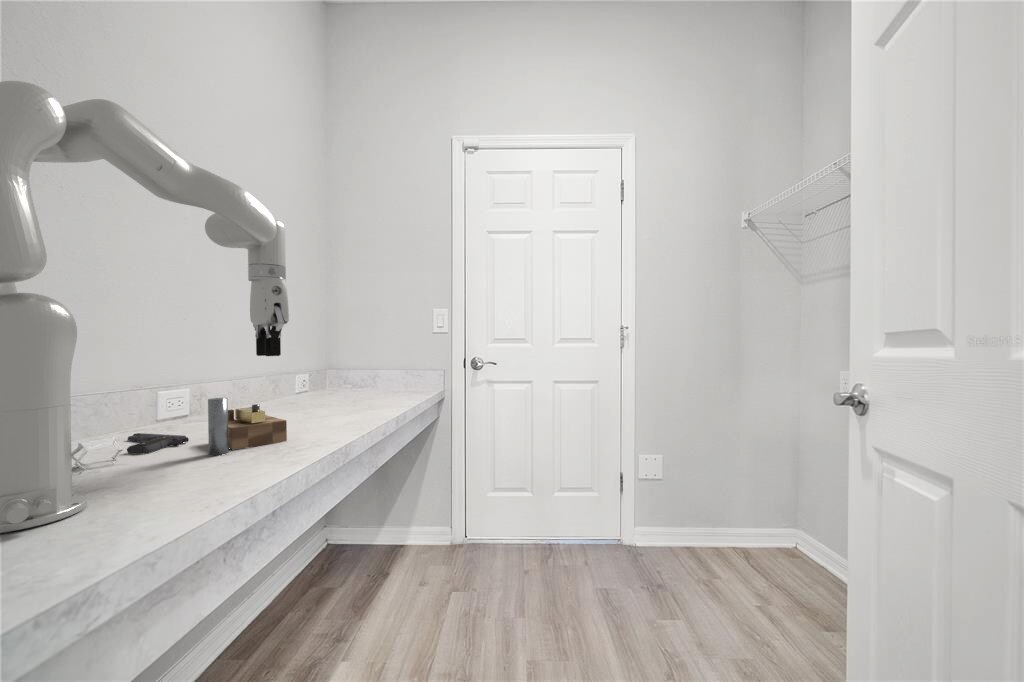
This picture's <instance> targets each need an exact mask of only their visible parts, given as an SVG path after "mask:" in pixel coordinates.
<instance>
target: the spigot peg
mask: <svg viewBox="0 0 1024 682" xmlns="http://www.w3.org/2000/svg"><path fill="white" fill-rule="evenodd" d="M228 401H229V399H228V397H215V398H214V397H213V398H208V399H207V416H208V417H207V419H208V420H207V422H208V425H207V426H208V428H207V430H208V433H207V435H208V456H209V455H220V456H223V455H222V454H225V455H227V454H226V453H228V454H229V449H228V410H229V407H228V404H229V402H228Z"/></svg>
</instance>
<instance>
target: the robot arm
mask: <svg viewBox="0 0 1024 682" xmlns="http://www.w3.org/2000/svg"><path fill="white" fill-rule="evenodd" d="M99 160H105V161H106V162H108V163H109V164H110V165H112V166H113V167H115V168H117V169H118V170H119V171H120V172H122V173H123V174H125V175H127V176H128V177H129V178H131V179H132V180H133V181H135V182H136V183H138V185H140V186H141V187H143V188H145V189H146V190H147V191H149V193H151V194H152V195H154V196H155V197H157V198H160V199H162V200H165V201H169V202H171V203H174V204H181V205H185V206H190V207H191V206H192V207H196V208H200V209H204V210H207V211H210V212H213V214H211V215H210V216H208V217H207V219H206V221H205V223H204V231H205V234H206V235H207V237H208V238H209V239H210V240H211V242H213V243H214V244H216V245H218V246H220V247H223V248H229V249H244V250H247V269H248V271H247V276H248V281H249V282H251V283H250V295H249V296H250V297H249V298H250V299H249V319H250V322H251V323H252V327H253V328H254V331H255V346H256V347H255V348H256V351H255V354H256V356H258V357H264V356H265V357H280V356H281V353H282V352H281V349H282V348H281V344H282V341H281V338H282V330H283V327H284V326H285V325H287V324H288V323H289V321H290V313H289V312H290V311H289V310H290V309H289V296H288V289H287V284H286V282H287V276H286V275H287V273H286V271H287V269H286V267H287V266H286V265H287V263H286V259H287V257H286V228H285V224H284V223H282V222H281V221H279V220H277V219H274V216H273V215H272V213H271V212H270V211H269V210H268V208H266V207H265V205H263V204H262V202H261V201H259V200H258V199H257V198H256V197H254V196H253V195H252V194H251V193H250V192H249V191H247V190H246V189H244V188H242V187H241V186H240V185H238V184H236V183H234V182H232V181H230V180H228V179H226V178H224V177H221V176H219V175H217V174H215V173H213V172H211V171H209V170H207V169H204V168H201V167H199V166H196V165H194V164H193V163H191V162H189V160H187V159H186V158H184V157H183V156H182V155H181V154H180V153H179V152H177V150H175V149H173V147H171V146H170V144H168V143H167V142H165V141H164V140H163V139H162V138H160V137H159V136H158V135H157V134H156V133H154V132H153V131H152V130H151V129H150V128H149V127H147V126H146V125H145V124H144V123H143V122H141V121H140V120H139V119H138V118H137V117H135V116H134V115H133V114H132V113H130V112H129V111H128V110H127V109H125V108H124V107H123V106H121V105H120V104H118V103H117V102H115V101H111V100H107V99H102V98H94V99H93V98H92V99H85V100H83V101H78V102H75V103H74V102H73V103H71V104H67V105H63V106H62V105H61V103H60V101H59V100H58V98H56V96H54V95H53V94H52V93H50V92H49V91H48V90H47V89H44V88H43V87H42V86H39V85H36V84H34V83H31V82H26V81H21V80H2V81H0V534H2V533H3V534H4V533H10V532H14V531H15V532H16V531H21V530H26V529H30V528H35V527H38V526H39V527H40V526H42V525H46V524H50V523H53V522H56V521H60V520H62V519H66V518H68V517H71V516H74V515H75V514H77V513H79V512H81V511H82V510H84V509H85V507H87V505H88V499H87V497H86V496H84V495H82V494H76V493H75V494H74V493H73V465H72V463H73V462H72V461H73V460H72V456H71V453H72V417H71V415H72V410H71V407H72V406H71V405H72V404H71V380H72V376H71V375H72V374H71V373H72V366H73V359H74V354H75V351H76V345H77V340H78V327H77V322H76V320H75V317H74V315H73V314H72V312H71V310H69V309H68V308H67V307H66V306H65V305H64V304H63V303H61V302H60V301H58V300H57V299H54V298H51V297H49V296H47V295H43V294H39V293H33V292H18V290H17V287H16V283H18V282H20V283H21V282H24V281H27V280H30V279H31V280H32V279H33V278H34V277H36V276H38V275H40V273H42V272H43V270H44V269H45V268H46V265H47V260H48V259H47V257H48V255H47V250H46V246H45V243H44V239H43V234H42V231H41V228H40V224H39V223H40V222H39V220H38V216H37V211H36V208H35V204H34V201H33V197H32V195H33V194H32V191H31V184H30V171H31V167H32V164H33V163H55V164H56V163H59V164H60V163H61V164H63V163H64V164H65V163H66V164H67V163H68V164H69V163H72V164H73V163H89V162H93V161H94V162H95V161H99Z"/></svg>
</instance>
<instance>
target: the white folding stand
mask: <svg viewBox="0 0 1024 682" xmlns="http://www.w3.org/2000/svg"><path fill="white" fill-rule="evenodd" d="M77 445H78V446H77V447H76V448H75V449H74V450H73V451H71V456H72V459H73V460H74V461H75V462H74V463H73V466H74V467H75V468H74V469H81V470H82V471H80V472H79V473H78V475H81V474H83V472H85V471H86V470H87V469H86V467H84V464H83V462H81V460H82V459H83V458H84V456H85V455H86V454H87V453H88V452H90V451H94V450H98V449H101V448H106V447H108V446H111V445H113V446H114V447H116V449H118V450H117V452H116V453H115V454H114V455H113V456H112V457H110V458H111V463H112V464H113V465H114V464H115V463H116V462H115V461H117V460H116V459H117V457H118V456H119V454H120V453H122V452H123V451H124V449H123V448H122V447H121V446H120V445H119V443H118V442H117V441H116V440H115V437H114V436H112V437H105V438H101V439H95V440H90V441H85V442H78V443H77ZM80 451H82V453H81V454H80V455H79V457H78V458H76V457H75V455H77V453H79V452H80ZM115 465H116V464H115Z"/></svg>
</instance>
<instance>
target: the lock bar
mask: <svg viewBox="0 0 1024 682" xmlns="http://www.w3.org/2000/svg"><path fill="white" fill-rule="evenodd" d="M251 407H252V408H249V406H248V407H243V408H242V407H239V408H235V410H234V419H238V420H242V421H245V422H249V423H257V422H265V415H266V411H265V410H261V408H260V403H257V404H256V403H255V404H251Z"/></svg>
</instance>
